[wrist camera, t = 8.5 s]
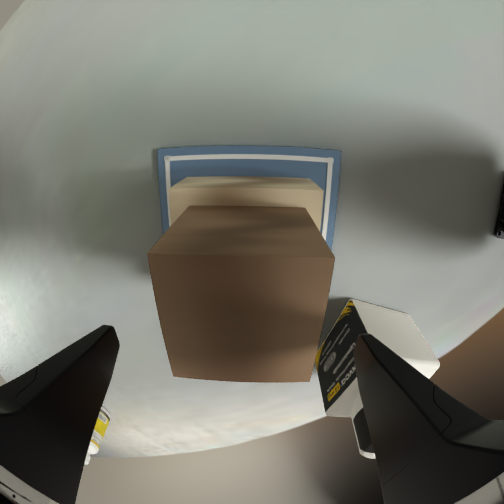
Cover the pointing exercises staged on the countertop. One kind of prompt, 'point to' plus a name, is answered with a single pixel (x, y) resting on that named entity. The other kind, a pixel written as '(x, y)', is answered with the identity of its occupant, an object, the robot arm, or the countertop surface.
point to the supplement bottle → (98, 433)
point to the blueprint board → (253, 171)
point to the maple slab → (246, 193)
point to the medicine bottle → (343, 366)
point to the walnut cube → (242, 292)
